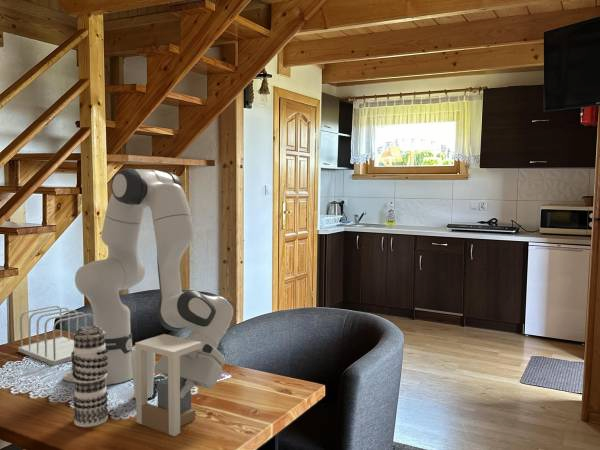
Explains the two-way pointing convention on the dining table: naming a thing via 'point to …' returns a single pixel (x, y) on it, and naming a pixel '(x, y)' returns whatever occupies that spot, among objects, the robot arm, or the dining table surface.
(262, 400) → the dining table surface
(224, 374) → the mobile phone
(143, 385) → the shelf
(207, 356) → the robot arm
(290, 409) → the dining table surface
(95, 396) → the decorative candle
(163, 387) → the slate tile
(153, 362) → the drinking glass
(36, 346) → the file sorter
